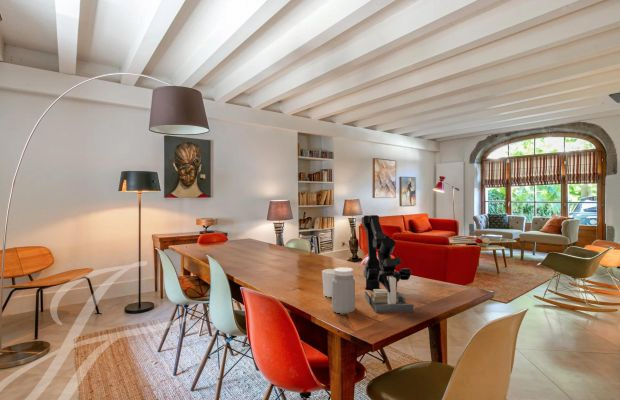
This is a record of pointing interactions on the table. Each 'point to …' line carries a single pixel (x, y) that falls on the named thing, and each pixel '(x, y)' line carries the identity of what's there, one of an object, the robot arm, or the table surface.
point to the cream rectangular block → (392, 290)
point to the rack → (390, 305)
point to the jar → (343, 290)
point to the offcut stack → (380, 296)
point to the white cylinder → (327, 281)
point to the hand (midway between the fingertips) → (392, 292)
